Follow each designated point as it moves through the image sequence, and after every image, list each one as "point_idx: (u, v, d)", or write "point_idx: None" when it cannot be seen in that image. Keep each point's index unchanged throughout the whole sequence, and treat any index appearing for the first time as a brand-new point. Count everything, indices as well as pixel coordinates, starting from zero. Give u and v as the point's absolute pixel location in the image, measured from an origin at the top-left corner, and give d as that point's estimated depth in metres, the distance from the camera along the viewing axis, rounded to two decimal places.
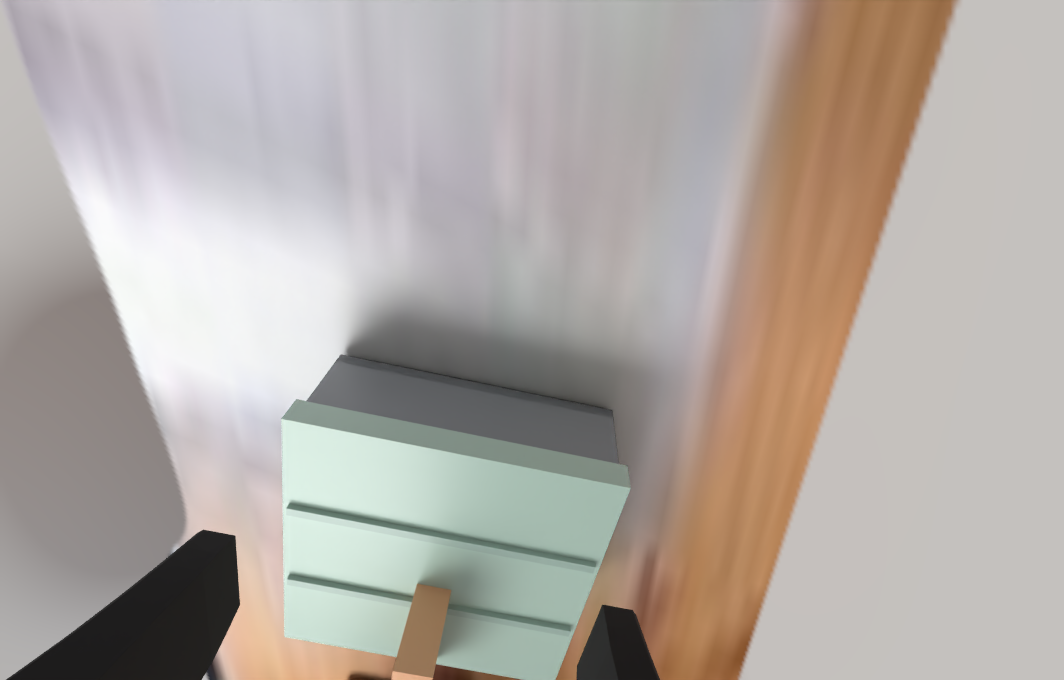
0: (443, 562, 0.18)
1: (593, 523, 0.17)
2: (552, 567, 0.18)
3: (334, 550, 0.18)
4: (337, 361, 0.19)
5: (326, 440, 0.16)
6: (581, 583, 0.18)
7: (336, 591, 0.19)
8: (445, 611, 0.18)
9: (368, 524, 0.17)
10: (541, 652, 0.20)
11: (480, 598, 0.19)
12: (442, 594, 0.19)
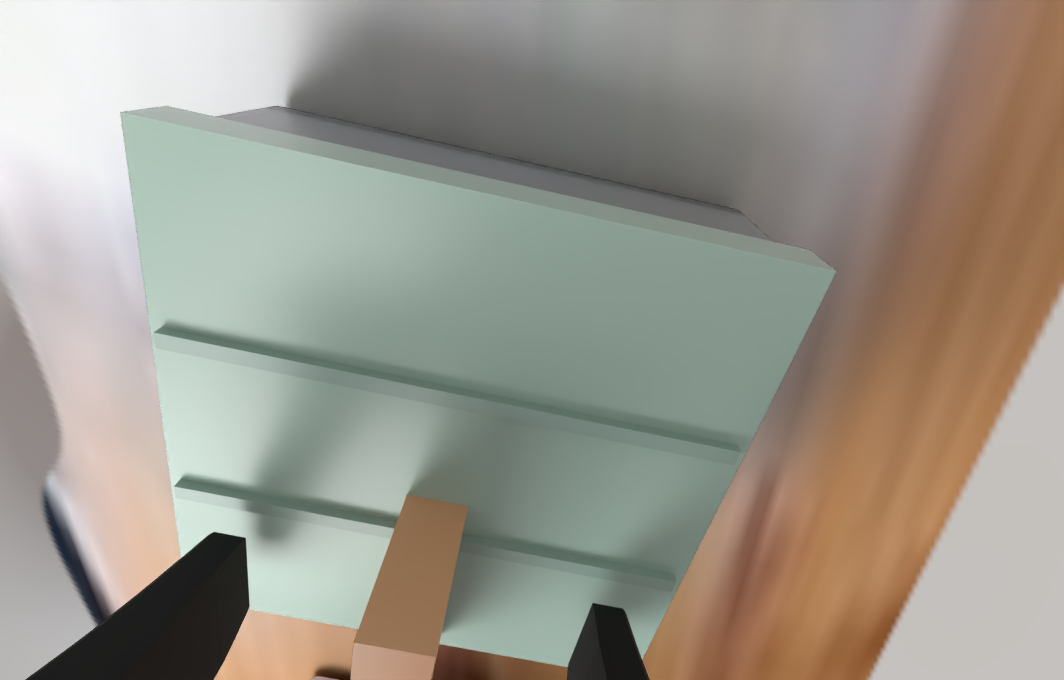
0: (455, 450, 0.10)
1: (747, 358, 0.09)
2: (655, 457, 0.10)
3: (255, 428, 0.10)
4: (268, 108, 0.11)
5: (218, 168, 0.08)
6: (705, 490, 0.10)
7: (263, 509, 0.11)
8: (458, 539, 0.10)
9: (312, 365, 0.09)
10: None
11: (519, 522, 0.11)
12: (452, 512, 0.10)
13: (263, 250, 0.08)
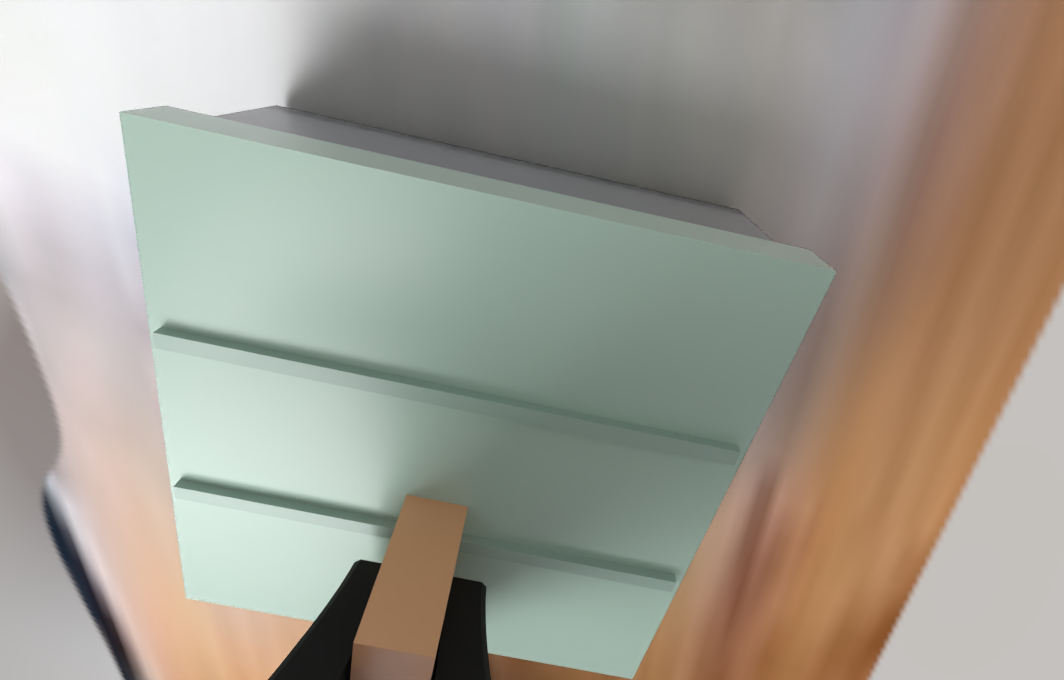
0: (455, 450, 0.10)
1: (747, 358, 0.09)
2: (655, 457, 0.10)
3: (255, 428, 0.10)
4: (268, 108, 0.11)
5: (217, 168, 0.08)
6: (706, 490, 0.10)
7: (263, 509, 0.11)
8: (458, 539, 0.10)
9: (312, 365, 0.09)
10: (618, 622, 0.12)
11: (519, 522, 0.11)
12: (452, 512, 0.10)
13: (263, 250, 0.08)
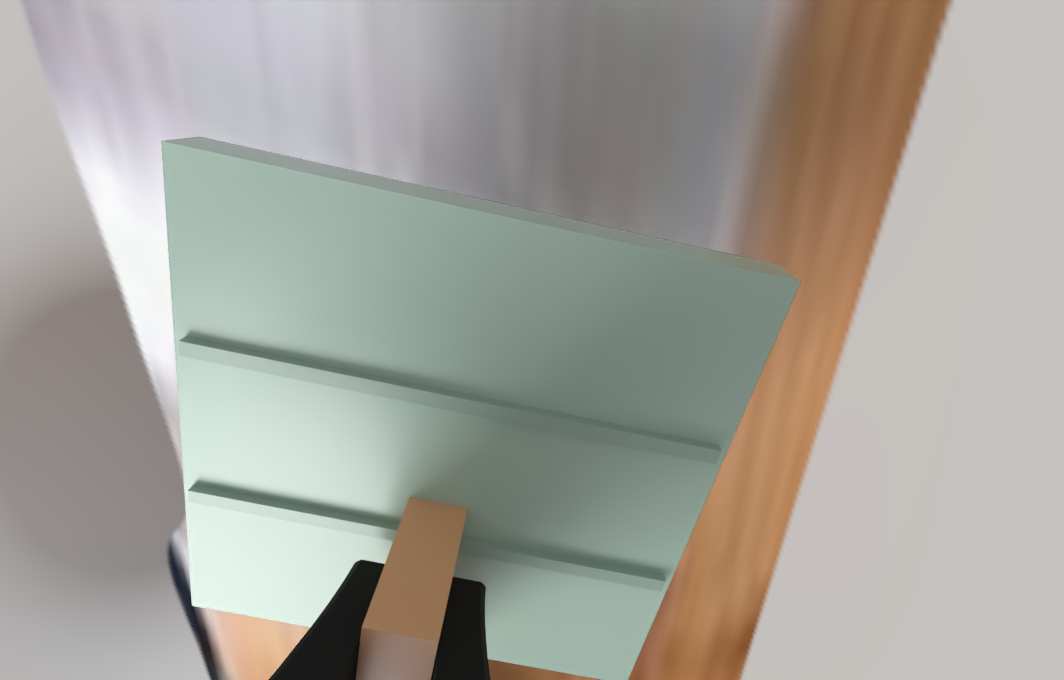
0: (456, 452, 0.11)
1: (724, 362, 0.10)
2: (643, 457, 0.11)
3: (268, 433, 0.11)
4: None
5: (246, 191, 0.09)
6: (690, 489, 0.11)
7: (272, 513, 0.11)
8: (458, 537, 0.10)
9: (325, 371, 0.10)
10: (611, 624, 0.12)
11: (515, 523, 0.11)
12: (452, 513, 0.11)
13: (283, 264, 0.09)
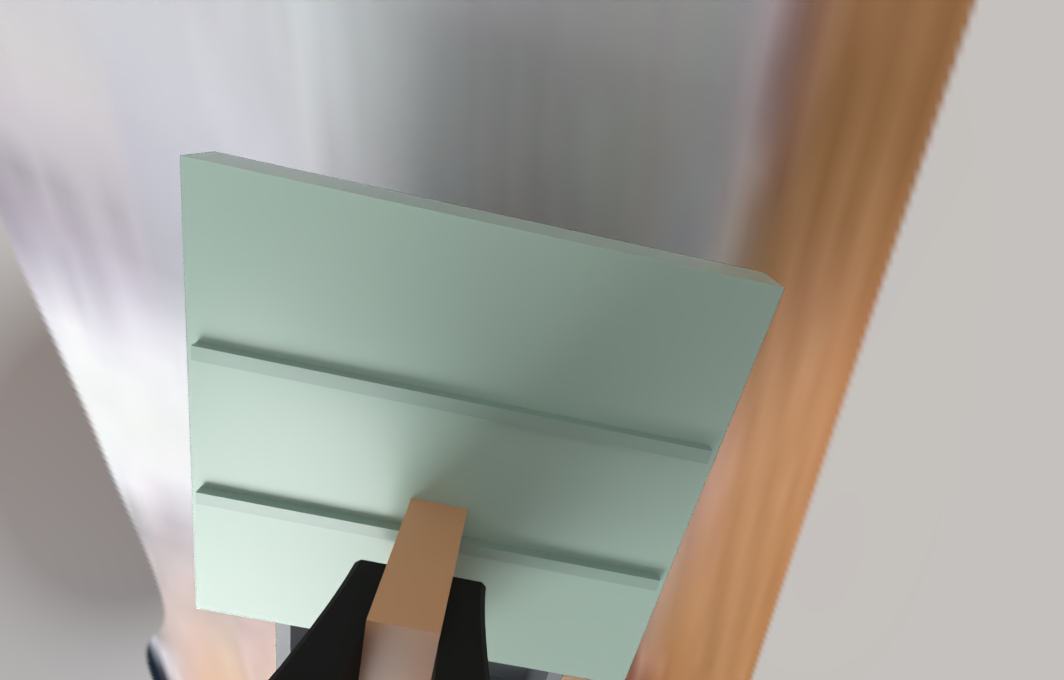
0: (456, 454, 0.11)
1: (713, 365, 0.10)
2: (637, 458, 0.11)
3: (275, 435, 0.11)
4: None
5: (259, 202, 0.09)
6: (683, 490, 0.11)
7: (277, 514, 0.12)
8: (459, 536, 0.11)
9: (331, 374, 0.10)
10: (607, 625, 0.13)
11: (514, 524, 0.12)
12: (453, 514, 0.11)
13: (293, 272, 0.10)
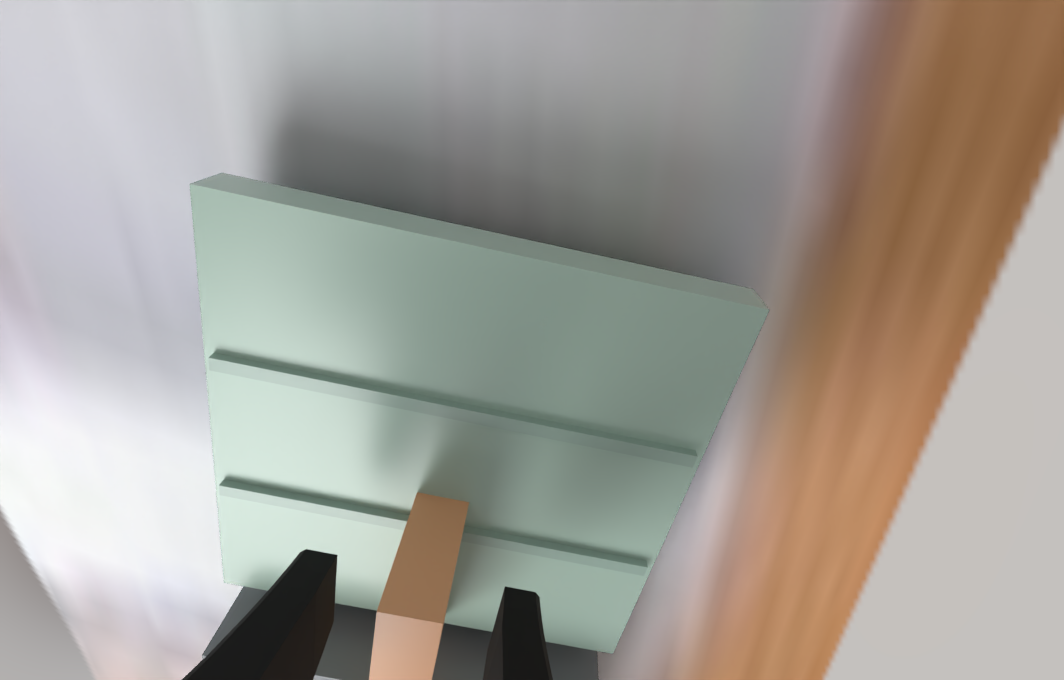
0: (458, 454, 0.12)
1: (700, 379, 0.11)
2: (627, 460, 0.12)
3: (289, 436, 0.12)
4: None
5: (266, 227, 0.10)
6: (670, 488, 0.12)
7: (294, 505, 0.12)
8: (461, 529, 0.12)
9: (340, 384, 0.11)
10: (599, 603, 0.14)
11: (512, 516, 0.13)
12: (455, 507, 0.12)
13: (301, 291, 0.10)
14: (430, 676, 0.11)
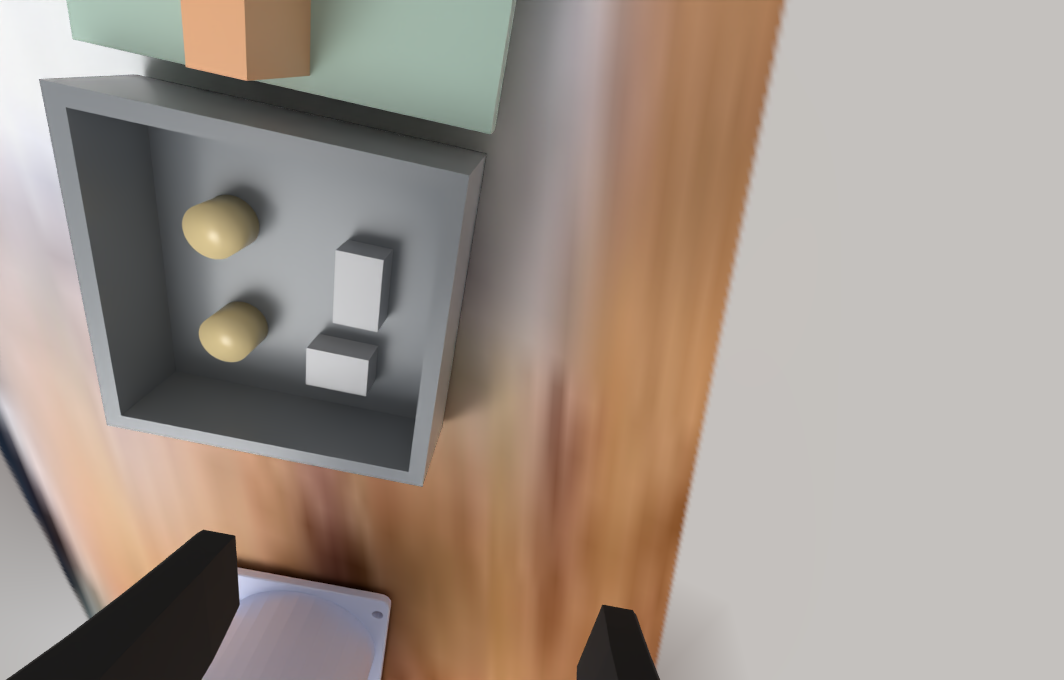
0: None
1: None
2: None
3: None
4: (126, 75, 0.15)
5: None
6: None
7: None
8: None
9: None
10: (467, 44, 0.13)
11: None
12: None
13: None
14: None
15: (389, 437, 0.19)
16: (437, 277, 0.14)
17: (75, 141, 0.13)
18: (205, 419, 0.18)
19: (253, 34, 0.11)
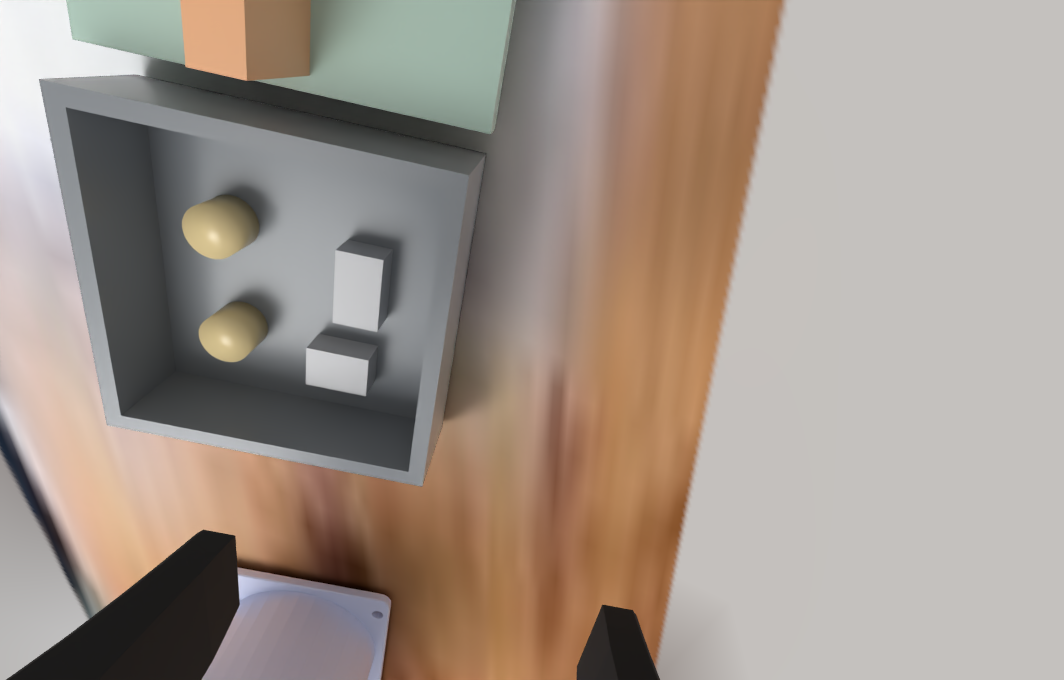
0: None
1: None
2: None
3: None
4: (126, 75, 0.15)
5: None
6: None
7: None
8: None
9: None
10: (467, 44, 0.13)
11: None
12: None
13: None
14: None
15: (389, 437, 0.19)
16: (437, 277, 0.14)
17: (75, 141, 0.13)
18: (205, 419, 0.18)
19: (253, 34, 0.11)
